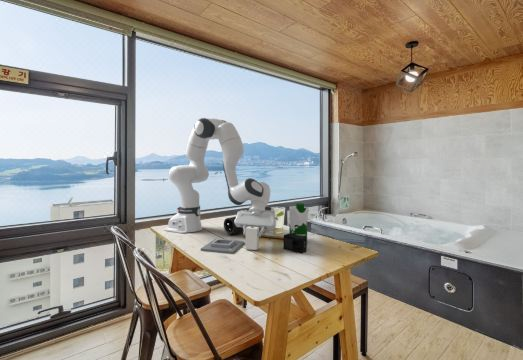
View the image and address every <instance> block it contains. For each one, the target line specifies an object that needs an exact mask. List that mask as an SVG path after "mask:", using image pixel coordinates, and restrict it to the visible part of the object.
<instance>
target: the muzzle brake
mask: <svg viewBox="0 0 523 360" xmlns="http://www.w3.org/2000/svg"><path fill="white" fill-rule="evenodd" d="M235 218H236V216H230V217H227V218H225V219H224V221H223V229H224V231H225V232H226V233H227V234H228V236H234V235H236V234H237V235H238V234H240V233H243V232H244V229H243V227H236V225H235V223H234V221H235ZM245 230H246V229H245Z"/></svg>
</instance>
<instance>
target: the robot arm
mask: <svg viewBox="0 0 523 360" xmlns="http://www.w3.org/2000/svg"><path fill="white" fill-rule="evenodd" d="M193 125H194V126H193V128H192V130H191V132H190V135H189V137H188V140H187V145H186V148H185V157H186V158H187V159H188V160H189V164H185V165H184V164H181V165H180V164H179V165H175V166H171V168H170V169H169V172H168V178H169V180H170V182H171V183H172V184H173V185H175V187H176V188H177V189H178V192H179V198H180V199H179V200H180V206H178V207H176V211H177V213H176V214H174V215H173V216H172V217H171V218H170V219H169V220H168V226H166V227H164V229H163V230H164V231H165V232H166V231H167V232H171V233H172V232H173V233H179V234H186V233H196V232H199V231H202V230H203V225H202V221H201V206H200V193H199V192H198V191H197V190H196V189H194V187H193V184H198V183H202V182H206V181H207V180H208V179H209V176H210V172H209V169H208V168H207V166H206V164H205V157H206V152H207V149H208V145H209V141H210V140H218V141H219V145H220V148H221V151H222V168H223V172H224V177H225V182H226V186H227V196H228V199H229V201H230V203H231V204H234V205H236V206H241V205H243V204H244V203H245V202H247V201H250V205H249V209H240V210H238V211H237V212H236V213H237V214H236V216H235V217H236V218H235V221H234V223H235V225H236V227H243V229H244V232H242V234H243V236H246V230H245V229H246V227H248V226H254V227H259V232H258V234H257V235H258V236H259V238H260V237H262V234H263V233H264V232H265V231H266V230H272V231H273V230H275V229H276V226H277V219H276V212H275V209H274V207H271V206H269V205H268V204H269V202H270V199H271V198H270V197H271V188H270V185H269V184H267V183H266V182H264V181H257V180H255V179H254V178H252V177H251V178H246V179H245V180H243V181H241V182H240V183H239V180H238V176H237V173H236V167H237V165H238V163H239V161H240V159H241V157H242V156H243V154H244V151H245V149H244V144H243V141H242V138H241V137H240V133H239V132H238V130H237V129H236V127H235V125H234V124H233V123H232V122H227V121H226V120H223V119H218V118H206V117H201V118H198V119H196V121H195V122H194V124H193Z"/></svg>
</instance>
